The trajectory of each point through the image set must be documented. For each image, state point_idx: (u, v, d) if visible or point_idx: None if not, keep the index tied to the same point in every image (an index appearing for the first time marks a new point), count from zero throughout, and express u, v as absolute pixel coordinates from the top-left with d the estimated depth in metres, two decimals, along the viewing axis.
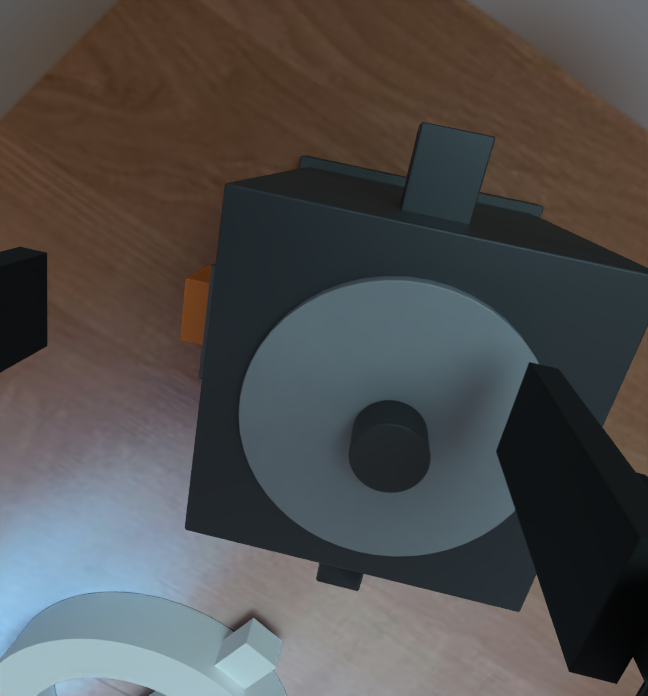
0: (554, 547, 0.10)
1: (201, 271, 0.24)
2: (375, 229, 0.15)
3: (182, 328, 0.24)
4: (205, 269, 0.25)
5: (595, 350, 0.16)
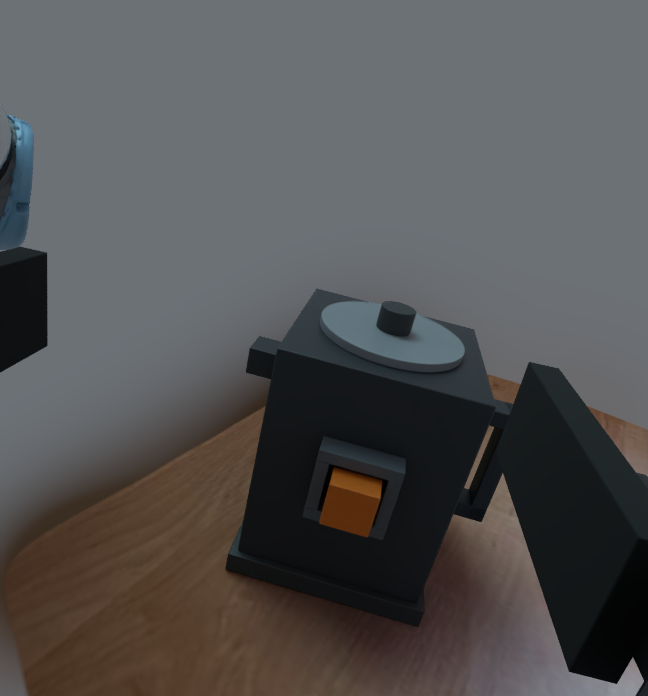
0: (554, 547, 0.10)
1: (324, 502, 0.31)
2: (299, 323, 0.35)
3: (370, 494, 0.30)
4: (323, 508, 0.31)
5: (344, 300, 0.41)
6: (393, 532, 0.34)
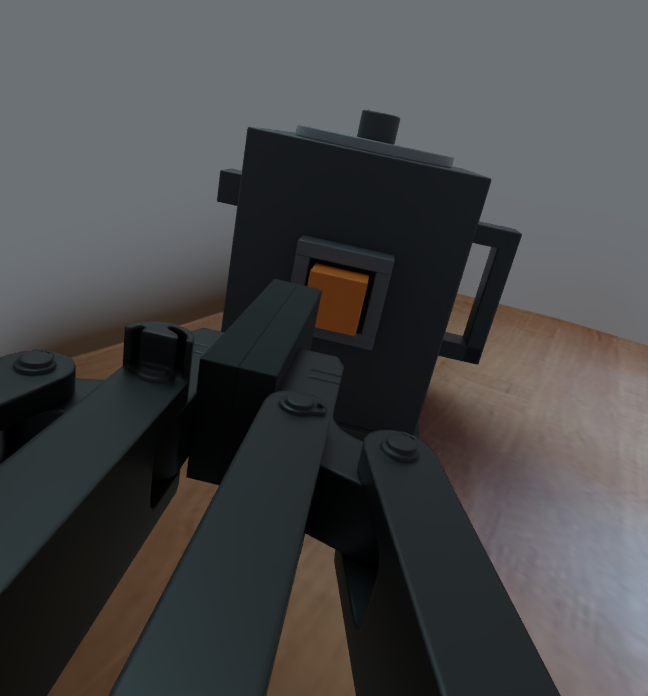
0: None
1: None
2: (273, 130, 0.32)
3: (355, 279, 0.27)
4: None
5: None
6: (383, 352, 0.31)
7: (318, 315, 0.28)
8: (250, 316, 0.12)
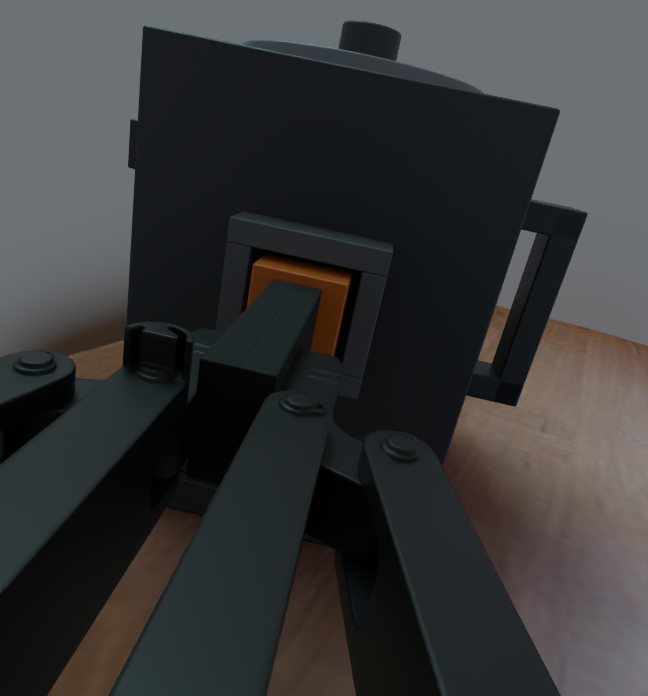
0: None
1: (247, 307, 0.17)
2: None
3: (328, 278, 0.16)
4: None
5: None
6: (376, 398, 0.20)
7: None
8: (250, 316, 0.12)
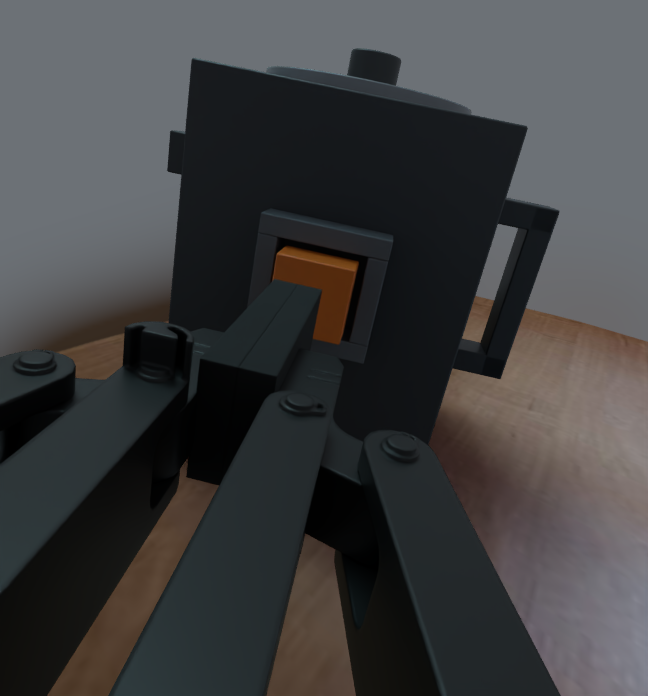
0: None
1: None
2: None
3: (339, 265, 0.19)
4: None
5: None
6: (379, 365, 0.24)
7: None
8: (250, 316, 0.12)
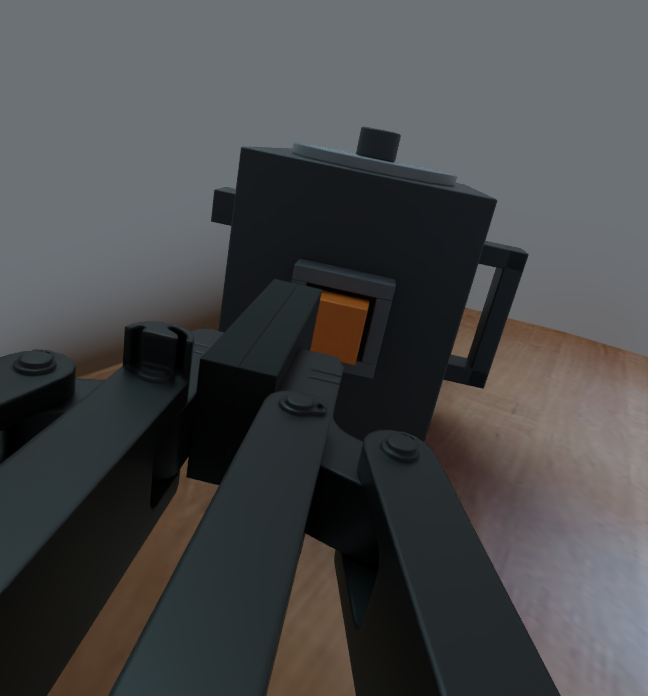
0: None
1: None
2: (269, 148, 0.31)
3: (355, 306, 0.25)
4: None
5: None
6: (384, 379, 0.30)
7: (316, 343, 0.26)
8: (250, 316, 0.12)
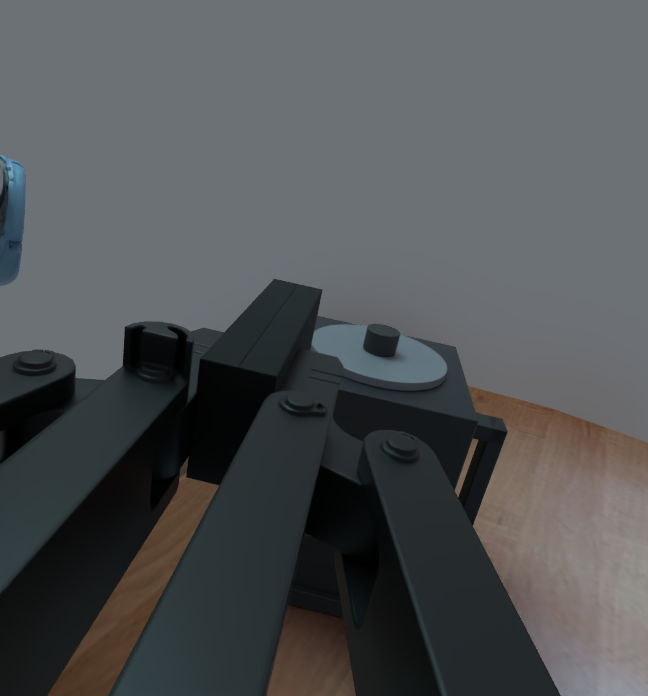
0: None
1: None
2: None
3: None
4: None
5: (331, 323, 0.43)
6: None
7: None
8: (250, 316, 0.12)
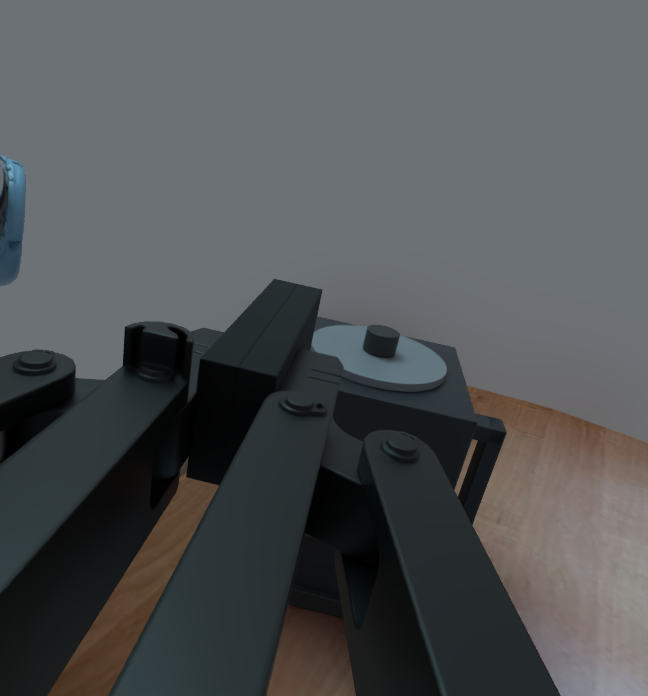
0: None
1: None
2: None
3: None
4: None
5: (331, 323, 0.43)
6: None
7: None
8: (250, 316, 0.12)
